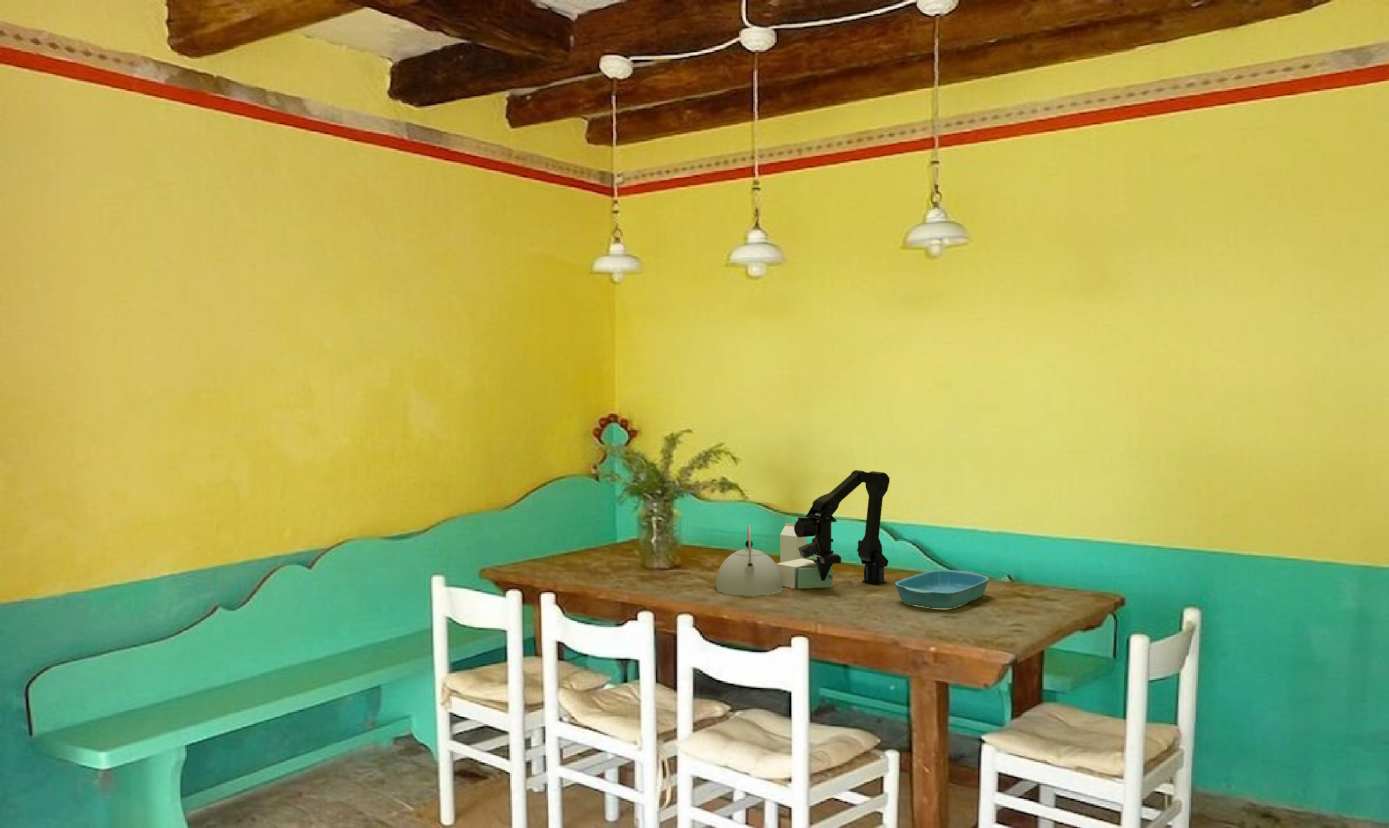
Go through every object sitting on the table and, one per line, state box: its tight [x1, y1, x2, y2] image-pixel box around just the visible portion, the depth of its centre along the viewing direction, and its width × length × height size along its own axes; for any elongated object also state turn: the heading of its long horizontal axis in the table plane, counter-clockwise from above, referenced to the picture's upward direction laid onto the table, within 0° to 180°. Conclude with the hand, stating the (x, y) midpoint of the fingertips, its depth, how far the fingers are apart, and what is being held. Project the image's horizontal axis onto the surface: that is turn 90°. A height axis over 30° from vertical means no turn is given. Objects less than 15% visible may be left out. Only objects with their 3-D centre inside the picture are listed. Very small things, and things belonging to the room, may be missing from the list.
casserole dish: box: [894, 569, 990, 609], centre depth 327 cm, size 37×22×7 cm, turn 139°
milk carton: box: [779, 522, 807, 563], centre depth 370 cm, size 7×7×19 cm
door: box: [798, 566, 834, 589], centre depth 345 cm, size 12×2×7 cm, turn 105°
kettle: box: [716, 523, 783, 597], centre depth 344 cm, size 25×23×22 cm
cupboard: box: [775, 558, 818, 589], centre depth 353 cm, size 9×14×8 cm, turn 134°
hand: (823, 580), depth 343 cm, fingers closed
